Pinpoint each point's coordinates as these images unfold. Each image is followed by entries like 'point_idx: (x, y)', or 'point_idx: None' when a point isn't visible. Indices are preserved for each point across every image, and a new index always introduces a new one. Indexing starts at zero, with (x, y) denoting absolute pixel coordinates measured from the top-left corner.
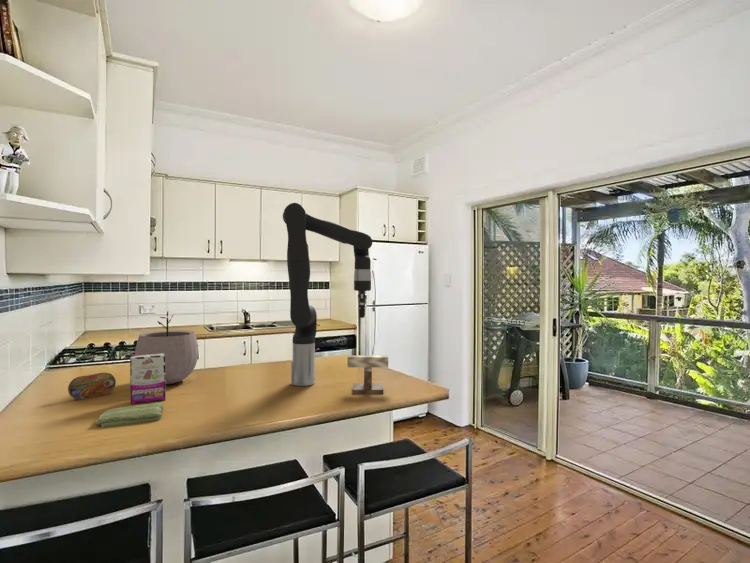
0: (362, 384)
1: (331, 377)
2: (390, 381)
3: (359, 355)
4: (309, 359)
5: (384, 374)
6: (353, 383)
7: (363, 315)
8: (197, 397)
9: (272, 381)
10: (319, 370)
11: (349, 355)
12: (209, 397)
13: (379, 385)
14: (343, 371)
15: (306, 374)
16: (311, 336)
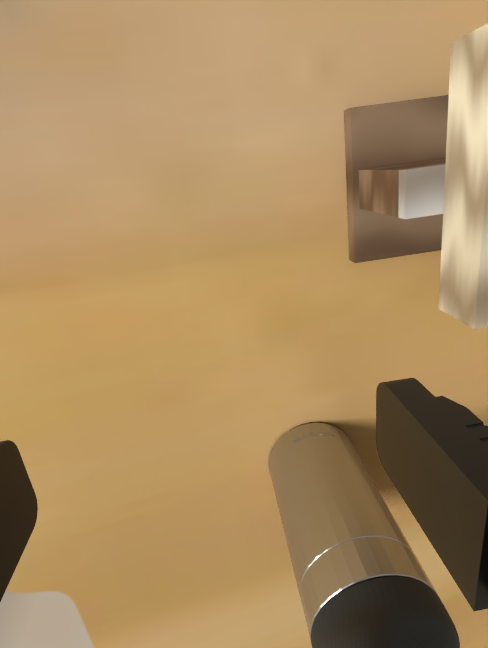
0: (376, 214)
1: (186, 388)
2: (217, 69)
3: (482, 254)
4: (386, 509)
5: (45, 122)
6: (359, 260)
7: (462, 407)
8: (470, 637)
9: (286, 557)
10: (58, 471)
11: (479, 319)
12: (472, 617)
13: (394, 121)
14: (42, 365)
15: (365, 468)
16: (433, 627)
